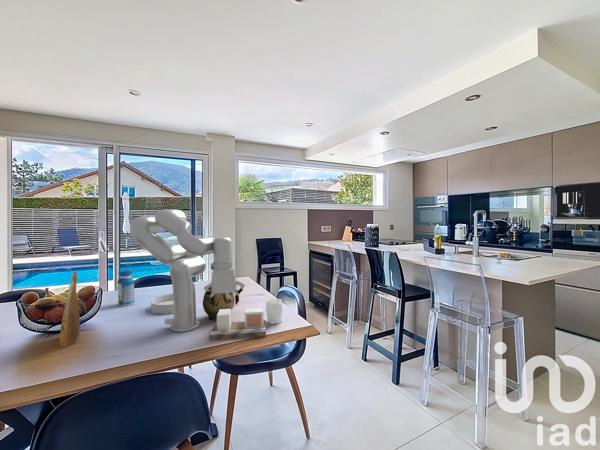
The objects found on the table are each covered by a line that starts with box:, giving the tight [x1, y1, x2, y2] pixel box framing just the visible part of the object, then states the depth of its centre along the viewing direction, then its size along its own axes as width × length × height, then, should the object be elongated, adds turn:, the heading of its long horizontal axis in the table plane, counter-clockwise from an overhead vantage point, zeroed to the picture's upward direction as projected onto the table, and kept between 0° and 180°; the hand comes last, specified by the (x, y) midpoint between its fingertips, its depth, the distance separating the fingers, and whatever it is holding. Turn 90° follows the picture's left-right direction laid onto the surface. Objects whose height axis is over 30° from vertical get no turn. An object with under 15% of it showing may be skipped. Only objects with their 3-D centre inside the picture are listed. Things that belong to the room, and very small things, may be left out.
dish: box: [150, 293, 174, 315], centre depth 163 cm, size 22×22×5 cm
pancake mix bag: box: [59, 270, 81, 348], centre depth 121 cm, size 7×19×28 cm, turn 30°
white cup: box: [265, 298, 283, 325], centre depth 138 cm, size 8×8×10 cm
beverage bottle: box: [116, 268, 136, 307], centre depth 169 cm, size 8×8×20 cm
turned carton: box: [216, 309, 232, 331], centre depth 127 cm, size 8×5×7 cm, turn 7°
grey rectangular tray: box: [209, 319, 267, 341], centre depth 127 cm, size 23×13×3 cm, turn 97°
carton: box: [244, 307, 265, 329], centre depth 128 cm, size 8×5×7 cm, turn 97°
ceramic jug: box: [202, 261, 235, 322], centre depth 146 cm, size 17×15×30 cm
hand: (225, 304), depth 126 cm, fingers open, 9 cm apart
